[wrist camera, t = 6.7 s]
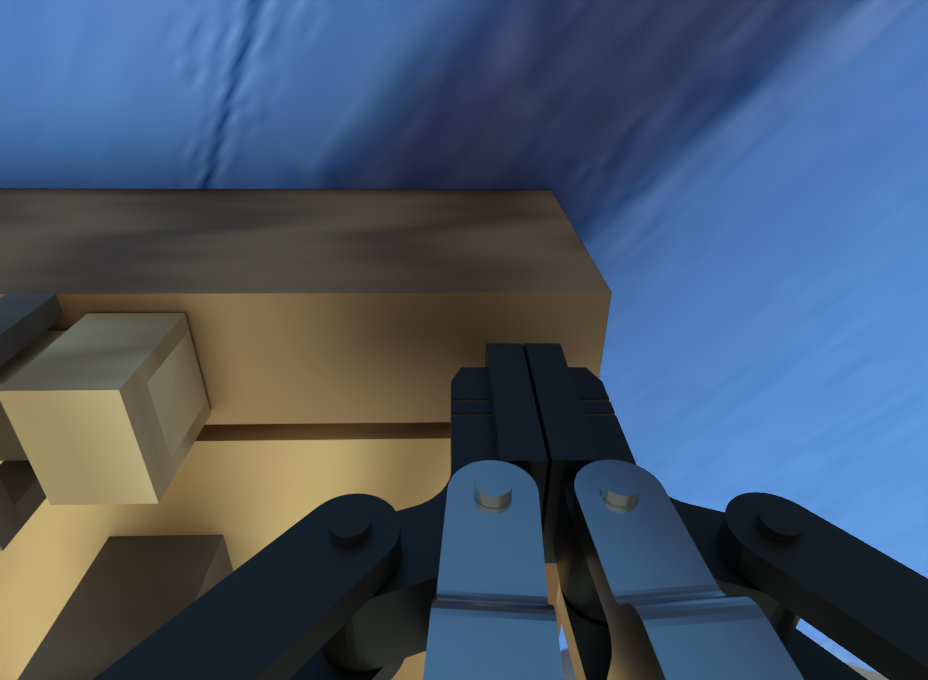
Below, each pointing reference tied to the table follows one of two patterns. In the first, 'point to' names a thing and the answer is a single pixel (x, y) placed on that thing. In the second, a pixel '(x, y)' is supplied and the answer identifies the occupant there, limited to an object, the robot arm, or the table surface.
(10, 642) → the lid
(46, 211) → the wooden box
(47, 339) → the yellow latch bar
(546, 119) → the table surface
